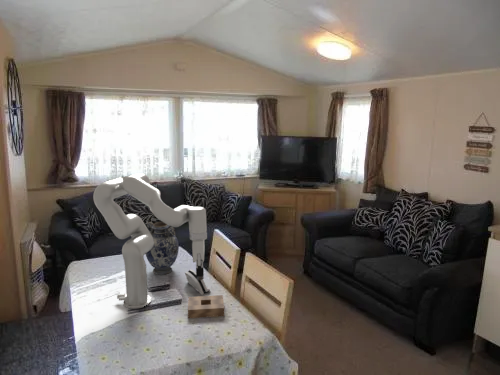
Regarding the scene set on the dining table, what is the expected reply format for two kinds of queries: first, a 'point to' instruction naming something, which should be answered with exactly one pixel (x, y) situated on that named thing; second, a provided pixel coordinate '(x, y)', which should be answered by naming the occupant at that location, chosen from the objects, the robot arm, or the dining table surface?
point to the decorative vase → (162, 248)
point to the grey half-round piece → (196, 282)
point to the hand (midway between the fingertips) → (200, 274)
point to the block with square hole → (205, 306)
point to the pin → (200, 276)
